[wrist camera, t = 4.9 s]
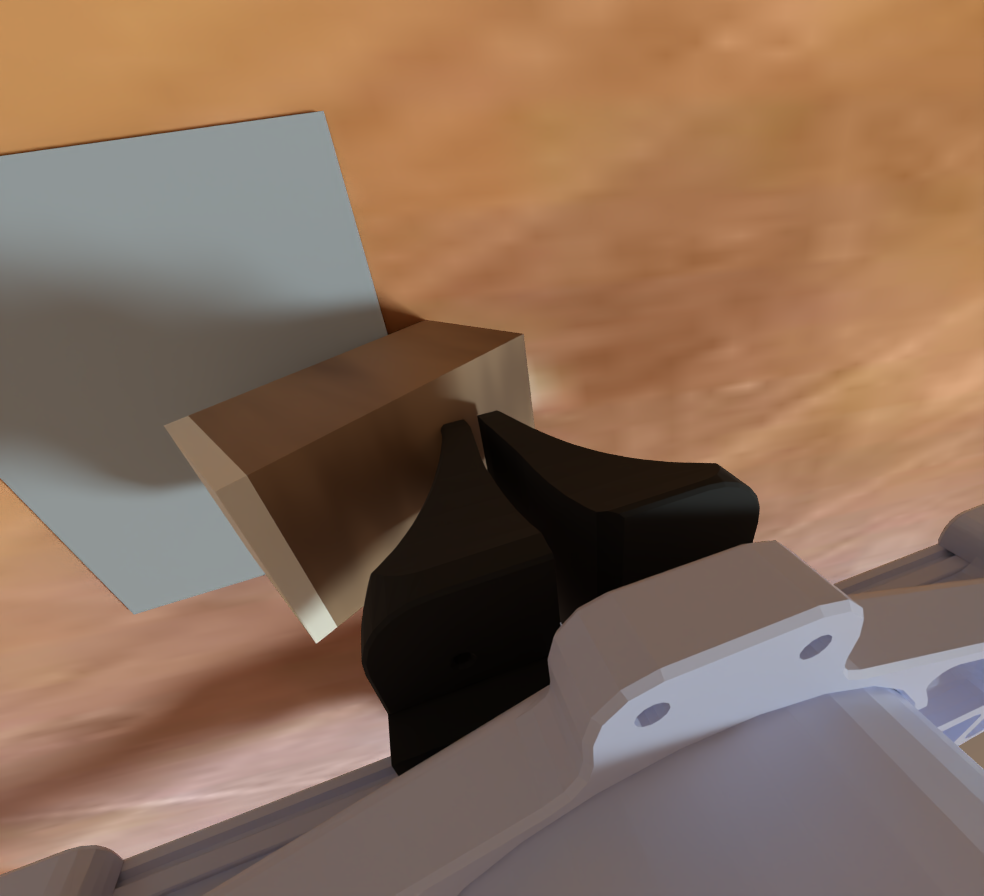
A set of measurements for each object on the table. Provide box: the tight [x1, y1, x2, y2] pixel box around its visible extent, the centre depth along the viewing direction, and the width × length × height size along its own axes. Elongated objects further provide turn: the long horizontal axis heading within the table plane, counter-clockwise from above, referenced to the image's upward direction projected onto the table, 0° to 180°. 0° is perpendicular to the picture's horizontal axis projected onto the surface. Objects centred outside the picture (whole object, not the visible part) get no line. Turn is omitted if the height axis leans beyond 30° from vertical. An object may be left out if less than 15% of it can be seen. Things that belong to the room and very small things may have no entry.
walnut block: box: [164, 320, 535, 644], centre depth 13 cm, size 5×5×9 cm
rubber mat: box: [0, 111, 388, 614], centre depth 15 cm, size 16×14×1 cm
